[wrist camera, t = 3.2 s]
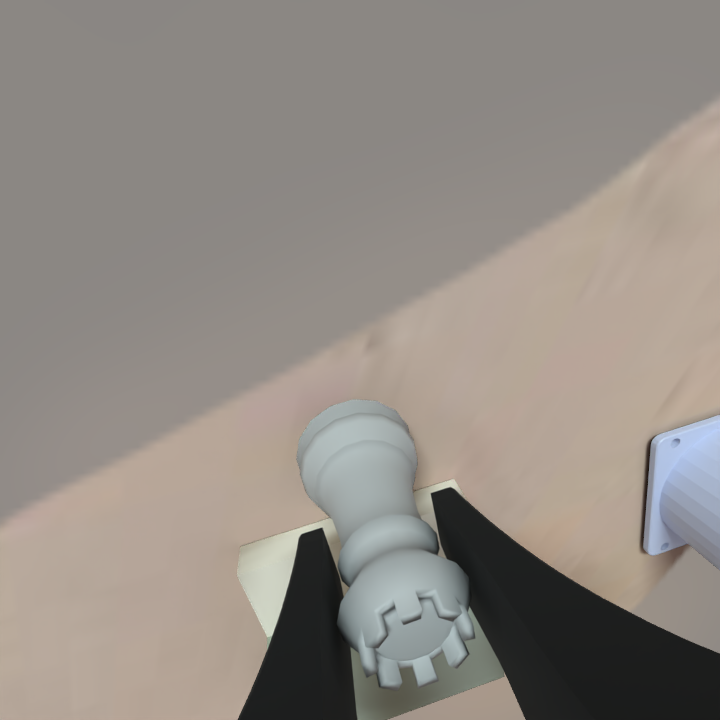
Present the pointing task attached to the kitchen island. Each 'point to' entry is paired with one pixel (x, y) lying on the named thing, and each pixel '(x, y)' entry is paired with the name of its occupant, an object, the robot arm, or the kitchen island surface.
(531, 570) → the robot arm
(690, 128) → the kitchen island surface
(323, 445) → the rook chess piece
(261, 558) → the stepped riser
